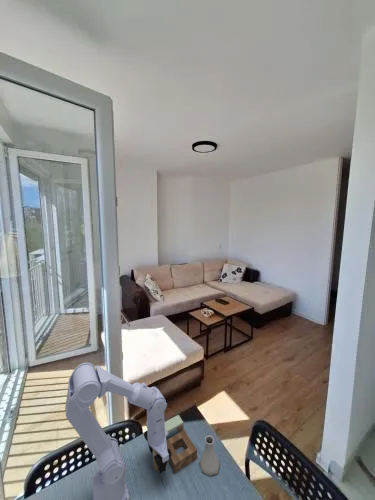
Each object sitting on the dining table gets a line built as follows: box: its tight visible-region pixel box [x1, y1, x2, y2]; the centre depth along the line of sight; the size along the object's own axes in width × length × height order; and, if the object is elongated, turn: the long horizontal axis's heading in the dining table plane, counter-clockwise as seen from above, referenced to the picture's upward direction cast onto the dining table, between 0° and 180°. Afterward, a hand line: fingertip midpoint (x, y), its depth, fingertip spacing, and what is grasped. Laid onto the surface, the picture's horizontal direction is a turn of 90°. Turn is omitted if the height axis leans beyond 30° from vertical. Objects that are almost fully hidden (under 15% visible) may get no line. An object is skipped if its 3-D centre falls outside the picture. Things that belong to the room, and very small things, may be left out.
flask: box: [198, 434, 221, 477], centre depth 76 cm, size 7×7×10 cm
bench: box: [165, 414, 185, 434], centre depth 86 cm, size 9×4×6 cm, turn 121°
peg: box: [152, 449, 159, 473], centre depth 76 cm, size 3×3×8 cm
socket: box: [166, 429, 198, 474], centre depth 80 cm, size 9×9×4 cm
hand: (157, 460), depth 76 cm, fingers open, 7 cm apart
